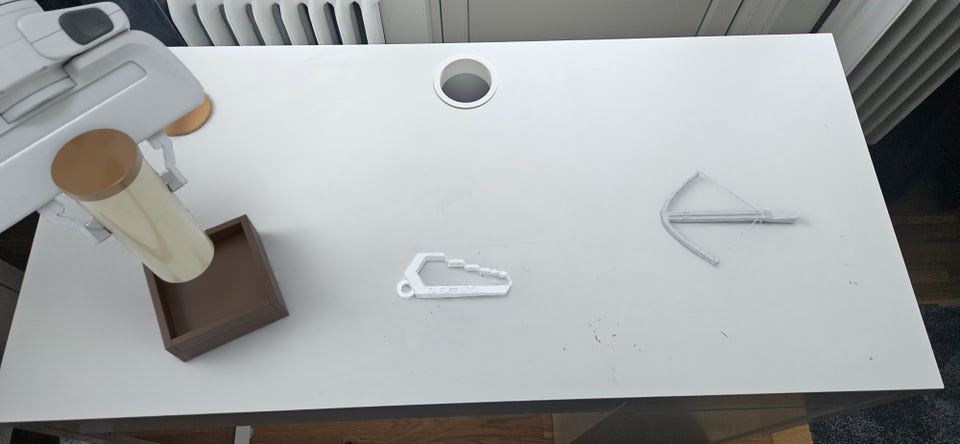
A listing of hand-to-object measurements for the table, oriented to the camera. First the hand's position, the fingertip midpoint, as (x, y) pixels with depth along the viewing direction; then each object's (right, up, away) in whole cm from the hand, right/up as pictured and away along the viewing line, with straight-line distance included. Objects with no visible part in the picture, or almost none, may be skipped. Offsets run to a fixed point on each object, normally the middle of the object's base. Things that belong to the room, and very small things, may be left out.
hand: (143, 212), depth 49 cm
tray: (-1, -9, +17) cm, 19 cm away
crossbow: (+58, -1, +23) cm, 63 cm away
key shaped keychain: (+25, -7, +19) cm, 32 cm away
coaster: (-12, +14, +29) cm, 34 cm away
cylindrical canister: (-1, -4, +8) cm, 9 cm away
